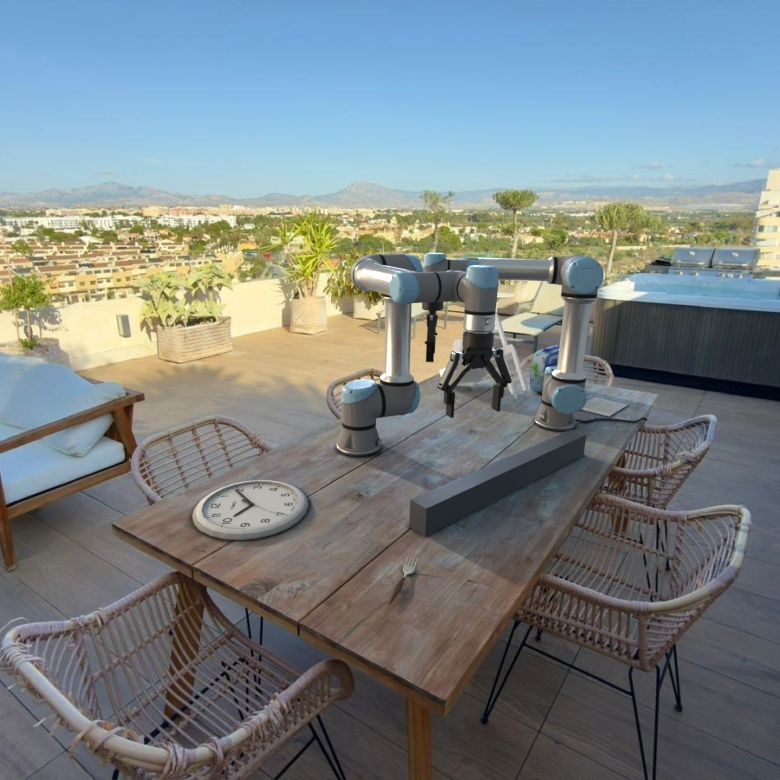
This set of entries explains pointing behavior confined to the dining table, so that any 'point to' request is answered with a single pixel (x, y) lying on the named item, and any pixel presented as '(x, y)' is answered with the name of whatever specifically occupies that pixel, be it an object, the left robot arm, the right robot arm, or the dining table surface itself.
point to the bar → (492, 482)
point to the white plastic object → (479, 373)
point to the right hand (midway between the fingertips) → (430, 357)
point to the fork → (407, 571)
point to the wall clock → (250, 510)
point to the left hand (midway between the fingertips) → (473, 413)
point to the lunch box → (542, 366)
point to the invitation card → (603, 406)
